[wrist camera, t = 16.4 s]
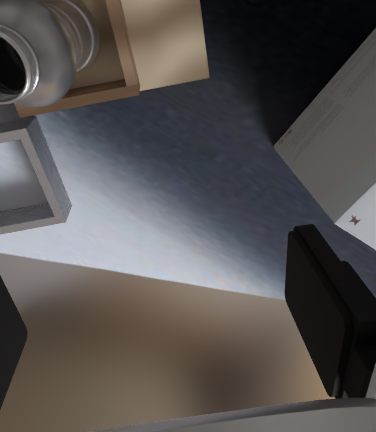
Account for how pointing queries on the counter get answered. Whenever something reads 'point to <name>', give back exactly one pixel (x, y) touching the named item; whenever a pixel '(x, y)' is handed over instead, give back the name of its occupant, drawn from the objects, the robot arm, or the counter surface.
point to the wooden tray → (137, 51)
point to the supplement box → (340, 145)
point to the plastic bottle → (43, 49)
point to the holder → (46, 175)
